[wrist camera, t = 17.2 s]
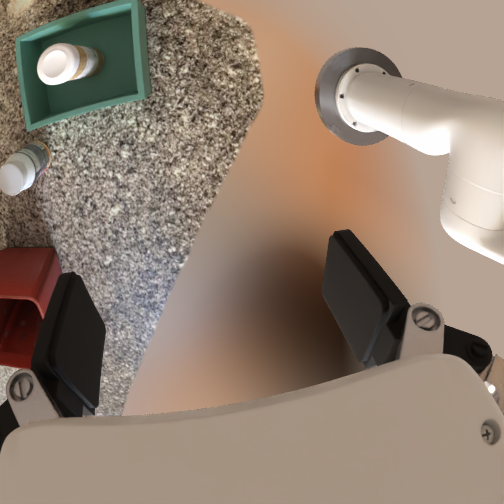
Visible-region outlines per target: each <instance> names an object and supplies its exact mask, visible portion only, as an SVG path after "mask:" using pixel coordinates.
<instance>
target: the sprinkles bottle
mask: <svg viewBox="0 0 504 504" xmlns="http://www.w3.org/2000/svg"><path fill="white" fill-rule="evenodd" d="M103 65H104V55H103V53H102V52H101V51H100V50H99V49H97V48H90V47H84V46H76V45H71V44H66V43H58V44H54V45H52V46H50V47H48V48H47V49H46V50H45V51H44V52H43V53H42V55H41V56H40V58H39V61H38V65H37V73H38V76H39V78H40V79H41V80H42V81H43V82H44V83H46V84H49V85H55V84H60V83H64V82H66V81H70V80H75V79H80V78H85V77H92V76H94V75H96V74H97V73H99V72H100V70H101V69H102V68H103Z"/></svg>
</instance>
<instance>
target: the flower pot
mask: <svg viewBox="0 0 504 504" xmlns="http://www.w3.org/2000/svg"><path fill="white" fill-rule="evenodd" d="M60 274H62V271H61V267H60V263H59V260H58V256H57V252H56V250H55V249H54V248H51V247H19V248H18V247H7V248H5V249H3V250H1V251H0V365H3V366H9V367H15V368H21V369H29V370H30V368H31V359H32V355H33V352H34V348H35V345H36V341H37V338H38V334H39V331H40V328H41V325H42V322H43V318H44V315H45V312H46V310H47V307H48V304H49V301H50V298H51V296H52V293H53V290H54V288H55V285H56V282H57V280H58V277H59V275H60Z"/></svg>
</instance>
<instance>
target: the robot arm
mask: <svg viewBox="0 0 504 504" xmlns="http://www.w3.org/2000/svg"><path fill="white" fill-rule="evenodd" d="M355 69H356V71H355ZM340 95H341V96H340ZM335 99H336V106H337V109H338V112H339V114H340V116H341V117H342V119H343V120H344V121H345V122H346V123H347V124H348V125H349V126H351V127H352V128H354V129H356V130H359V131H362V132H373V131H377V130H379V131H381V132H383V133H385V134H387V135H390V136H392V137H394V138H396V139H398V140H400V141H402V142H403V143H405V144H408V145H409V146H411V147H414V148H415V149H417V150H419V151H421V152H423V153H425V154H429V155H442V154H446V153H449V152H450V154H449V162H448V171H447V177H446V182H445V187H444V192H443V198H442V203H441V208H440V219H441V223H442V226H443V228H444V229H445V230H446V232H447V233H448V234H449V235H450V236H451V237H452V238H453V239H455V240H456V241H458V242H459V243H461V244H463V245H465V246H466V247H469V248H470V249H472V250H474V251H477V252H479V253H481V254H483V255H485V256H487V257H489V258H492V259H494V260H496V261H498V262H500V263H502V264H504V101H502V100H498V99H495V98H491V97H485V96H478V95H472V94H467V93H461V92H457V91H453V90H448V89H444V88H441V87H437V86H433V85H429V84H425V83H421V82H417V81H413V80H408V79H404V78H399V77H394V76H390V75H389V74H388V73H387V72H386V71H385V70H384V69H383V68H381V67H379V66H377V65H374V64H368V63H361V64H357V65H354V66H352V67H350V68H349V69H347V70H346V71H345V72H344V73H343V75H342V76H341V77H340V79H339V82H338V84H337V88H336V95H335ZM322 294H323V297H324V299H325V301H326V303H327V305H328V306H329V308H330V310H331V312H332V313H333V316H334V317H335V319H336V321H337V323H338V325H339V327H340V329H341V330H342V332H343V334H344V336H345V338H346V340H347V342H348V344H349V345H350V347H351V349H352V351H353V353H354V355H355V357H356V359H357V360H358V362H362V363H363V365H364V367H365V368H368V367H371V366H374V365H377V367H374V368H371V369H368V370H365V371H361V372H358V373H355V374H352V375H349V376H345V377H342V378H339V379H335V380H332V381H329V382H325V383H322V384H318V385H315V386H311V387H307V388H303V389H299V390H295V391H291V392H287V393H283V394H279V395H274V396H270V397H265V398H260V399H256V400H251V401H246V402H240V403H235V404H229V405H223V406H217V407H210V408H204V409H197V410H188V411H180V412H172V413H161V414H149V415H136V416H135V415H134V416H112V417H83V415H88V416H95V408H97V407H98V404H99V390H100V378H101V367H102V358H103V350H104V342H105V335H106V328H105V324H104V322H103V320H102V318H101V317H100V315H99V313H98V311H97V309H96V307H95V305H94V303H93V301H92V299H91V297H90V295H89V293H88V291H87V289H86V287H85V285H84V283H83V280H82V278H81V276H80V275H76V273H75V272H70V273H64V274H60V275H59V277H58V280H57V282H56V285H55V288H54V290H53V293H52V296H51V298H50V301H49V304H48V307H47V310H46V312H45V315H44V318H43V322H42V325H41V328H40V331H39V334H38V338H37V341H36V345H35V348H34V352H33V355H32V359H31V368H30V370H29V369H20V370H18V371H16V372H15V373H14V374H13V375H12V376H11V377H10V379H9V380H8V383H7V386H6V395H7V398H8V399H7V400H6V401H5V402H4V403H3V404H2V405H1V406H0V504H504V359H502V358H501V357H500V356H498V355H497V354H496V355H495V356H492V351H491V348H490V346H489V345H488V343H487V342H486V341H485V340H483V339H482V338H480V337H478V336H475V335H472V334H469V333H467V332H464V331H461V330H458V329H455V328H453V327H450V326H447V325H444V318H443V316H442V314H441V313H440V312H439V311H438V309H436V308H435V307H433V306H432V305H429V304H426V303H416V304H414V305H412V306H410V304H409V303H408V302H407V299H406V298H405V297H404V295H403V294H402V293H401V291H400V290H399V289H398V287H397V286H396V285H395V284H394V282H393V281H392V280H391V279H390V277H389V276H388V275H387V273H386V272H385V271H384V270H383V268H382V267H381V266H380V265H379V264H378V262H377V261H376V260H375V259H374V257H373V256H372V255H371V254H370V253H369V251H368V250H367V249H366V248H365V247H364V245H363V244H362V243H361V242H360V241H359V240H358V238H357V237H356V236H355V235H354V234H353V233H352V232H351V230H349V229H347V230H340V231H335V232H334V234H333V235H332V236H330V238H329V244H328V251H327V258H326V265H325V271H324V277H323V284H322Z"/></svg>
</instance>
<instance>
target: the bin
mask: <svg viewBox="0 0 504 504" xmlns="http://www.w3.org/2000/svg"><path fill="white" fill-rule="evenodd" d="M58 43H66V44H71V45H76V46H84V47H90V48H97V49H99V50H100V51H101V52H102V53H103V55H104V65H103V68H102V69H101V70H100V72H99V73H97V74H96V75H94V76H92V77H85V78H80V79H75V80H70V81H66V82H64V83H60V84H55V85H49V84H46V83H44V82H43V81H42V80H41V79H40V78H39V76H38V73H37V65H38V61H39V58H40V56H41V55H42V53H43V52H44V51H45V50H46V49H47V48H48V47H50V46H52V45H54V44H58ZM15 46H16V60H17V70H18V79H19V87H20V94H21V100H22V106H23V112H24V117H25V122H26V127H27V132H28V131H31V130H34V129H36V128H39V127H42V126H45V125H48V124H51V123H54V122H57V121H60V120H63V119H66V118H69V117H72V116H76V115H79V114H82V113H86V112H90V111H93V110H97V109H101V108H105V107H109V106H113V105H117V104H122V103H126V102H131V101H136V100H141V99H145V98H146V97H148V96H149V95H150V94H151V93H152V92H151V82H150V72H149V61H148V49H147V35H146V18H145V7H144V6H143V4H142V2H141V1H140V0H118V1H114V2H110V3H106V4H103V5H99V6H96V7H92V8H89V9H86V10H83V11H80V12H77V13H74V14H71V15H68V16H65V17H63V18H60V19H57V20H55V21H52V22H50V23H47V24H45V25H42V26H40V27H38V28H36V29H33V30H31V31H29V32H27V33H25V34H23V35H21V36H19V37H17V38H15Z"/></svg>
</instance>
